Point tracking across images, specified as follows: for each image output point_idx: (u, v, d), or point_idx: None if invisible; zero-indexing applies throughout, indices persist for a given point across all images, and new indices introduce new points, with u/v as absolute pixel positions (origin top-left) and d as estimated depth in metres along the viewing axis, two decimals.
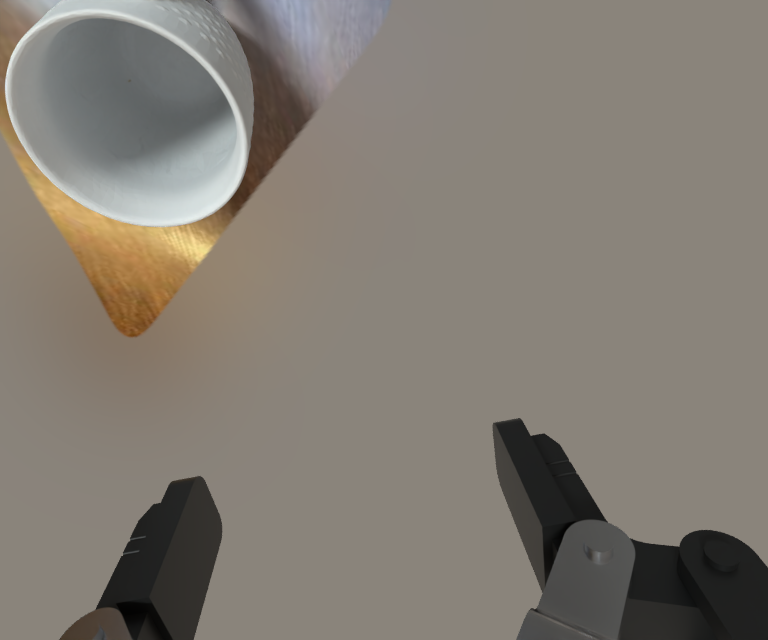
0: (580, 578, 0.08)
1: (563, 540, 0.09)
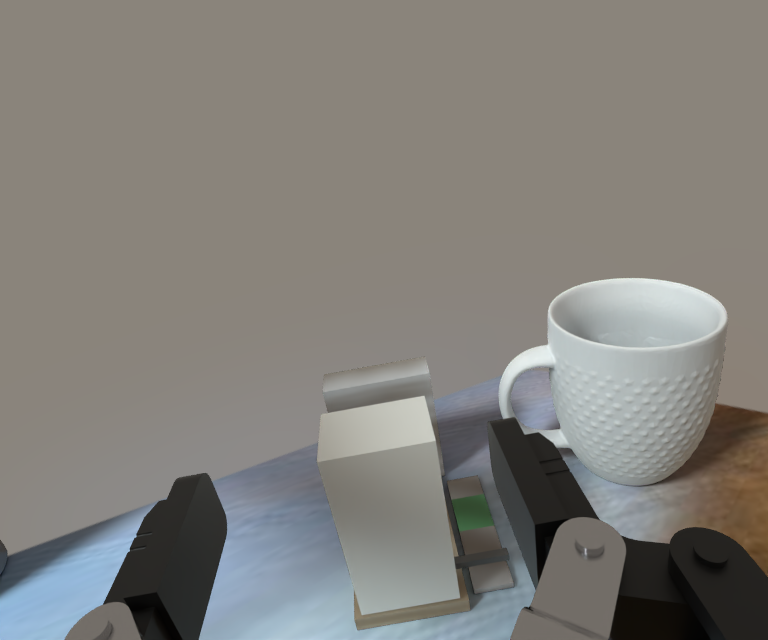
0: (572, 575, 0.09)
1: (555, 538, 0.09)
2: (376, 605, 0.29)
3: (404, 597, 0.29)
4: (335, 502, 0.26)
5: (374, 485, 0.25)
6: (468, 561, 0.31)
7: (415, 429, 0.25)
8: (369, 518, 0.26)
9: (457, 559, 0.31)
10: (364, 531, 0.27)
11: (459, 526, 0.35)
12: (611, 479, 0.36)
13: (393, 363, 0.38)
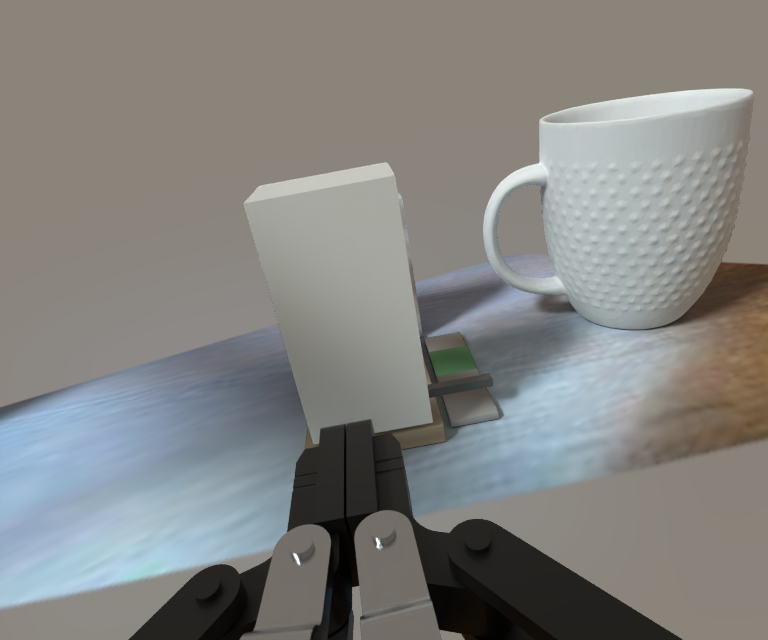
0: (382, 567, 0.09)
1: (357, 528, 0.10)
2: None
3: (364, 419, 0.24)
4: (271, 269, 0.20)
5: (318, 244, 0.20)
6: (444, 387, 0.26)
7: (371, 174, 0.20)
8: (315, 296, 0.21)
9: (431, 386, 0.26)
10: (310, 316, 0.21)
11: (436, 372, 0.30)
12: (614, 321, 0.31)
13: None
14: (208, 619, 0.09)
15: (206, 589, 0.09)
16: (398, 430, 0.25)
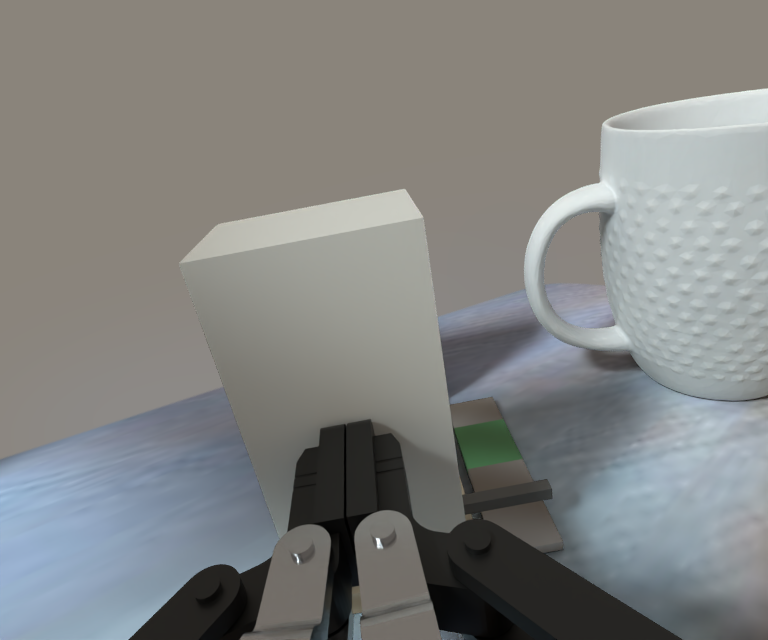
0: (382, 567, 0.09)
1: (357, 528, 0.10)
2: None
3: None
4: (228, 361, 0.13)
5: (302, 324, 0.13)
6: (483, 501, 0.18)
7: (384, 213, 0.13)
8: (298, 398, 0.14)
9: (465, 498, 0.18)
10: (291, 426, 0.14)
11: (467, 462, 0.22)
12: (700, 390, 0.23)
13: None
14: (208, 619, 0.09)
15: (206, 589, 0.09)
16: None
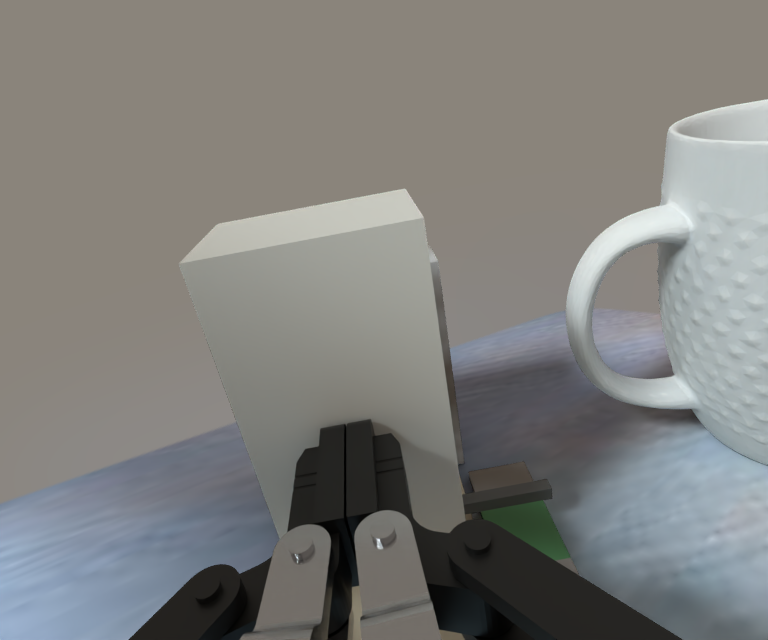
0: (383, 567, 0.09)
1: (357, 528, 0.10)
2: None
3: None
4: (228, 361, 0.13)
5: (302, 324, 0.13)
6: (483, 501, 0.18)
7: (385, 213, 0.13)
8: (298, 398, 0.14)
9: (465, 498, 0.18)
10: (291, 426, 0.14)
11: None
12: None
13: None
14: (208, 619, 0.09)
15: (206, 589, 0.09)
16: None
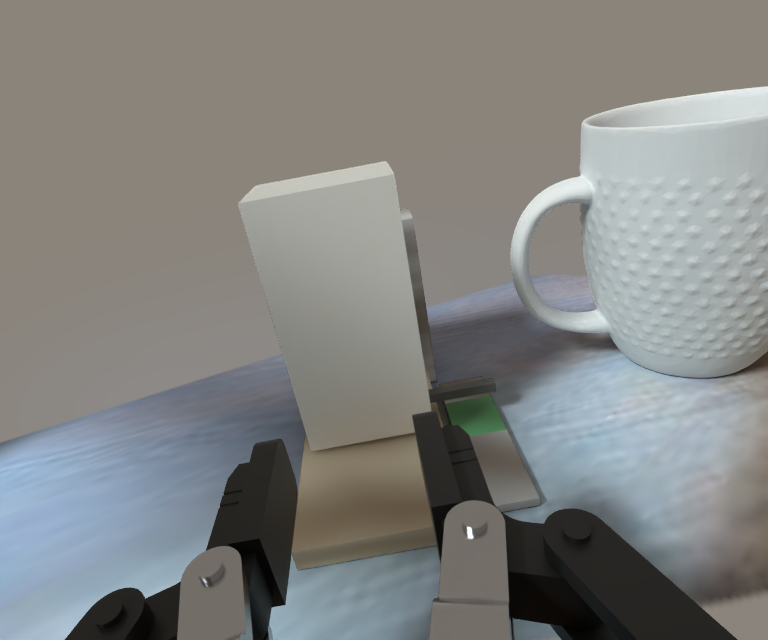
0: (467, 556, 0.09)
1: (445, 519, 0.10)
2: (328, 437, 0.23)
3: (363, 425, 0.23)
4: (266, 271, 0.20)
5: (315, 246, 0.19)
6: (445, 392, 0.25)
7: (370, 174, 0.20)
8: (312, 299, 0.20)
9: (432, 391, 0.25)
10: (307, 320, 0.21)
11: None
12: (672, 368, 0.25)
13: None
14: None
15: (109, 613, 0.09)
16: (412, 525, 0.19)
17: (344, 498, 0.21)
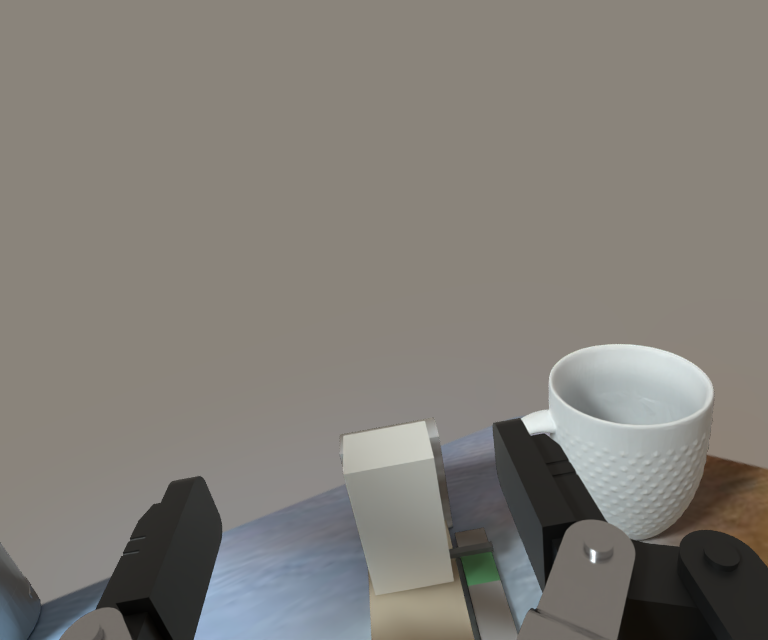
0: (580, 578, 0.08)
1: (563, 540, 0.09)
2: (387, 587, 0.37)
3: (409, 581, 0.37)
4: (356, 505, 0.33)
5: (386, 492, 0.33)
6: (460, 552, 0.38)
7: (418, 448, 0.33)
8: (382, 517, 0.34)
9: (451, 551, 0.39)
10: (378, 528, 0.34)
11: (467, 580, 0.38)
12: None
13: (404, 424, 0.41)
14: None
15: None
16: None
17: (400, 635, 0.34)
